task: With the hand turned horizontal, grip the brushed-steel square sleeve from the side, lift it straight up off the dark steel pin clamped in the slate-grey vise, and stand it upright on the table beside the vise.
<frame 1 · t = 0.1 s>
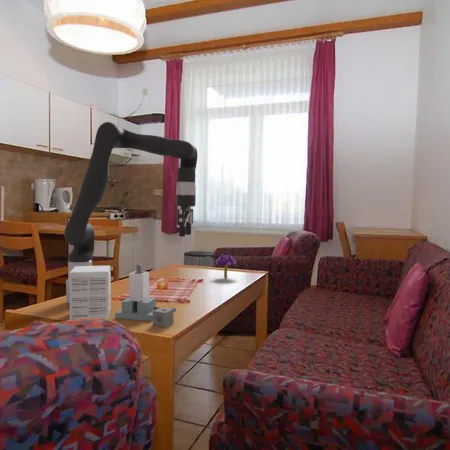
hand: (185, 235, 147), 29 cm above the table, tool pointing down, fingers open, 8 cm apart
steel sleeve: (139, 299, 139), point 6 cm above the table, touching vise
vise: (139, 315, 139), on the table
decorative mushroom: (225, 278, 211), on the table
supplement box: (91, 316, 138), on the table
dice cube: (163, 324, 130), on the table
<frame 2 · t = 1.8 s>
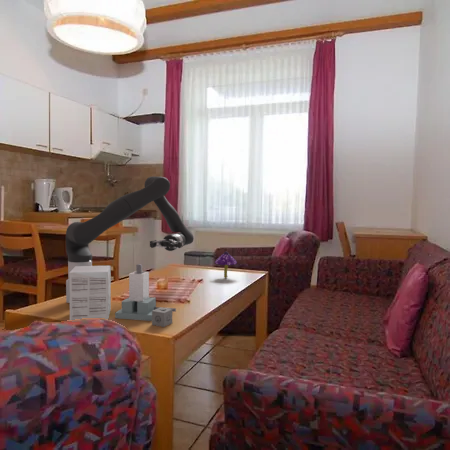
hand: (161, 245, 161), 23 cm above the table, tool horizontal, fingers open, 8 cm apart
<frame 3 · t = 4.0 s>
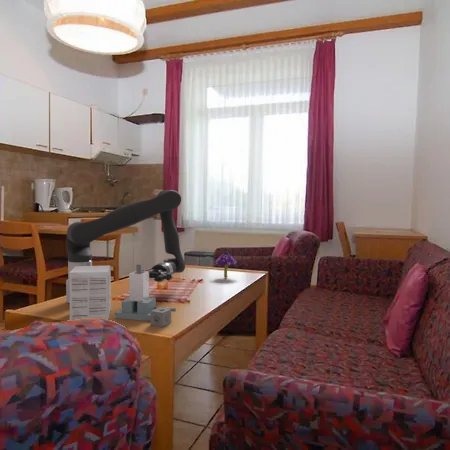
hand: (148, 278, 147), 12 cm above the table, tool horizontal, fingers open, 8 cm apart
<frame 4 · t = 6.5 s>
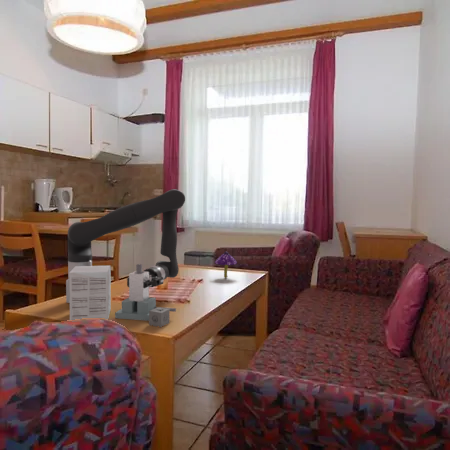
hand: (136, 284, 136), 12 cm above the table, tool horizontal, fingers closed on steel sleeve, 5 cm apart
steel sleeve: (139, 299, 139), point 6 cm above the table, touching gripper, vise
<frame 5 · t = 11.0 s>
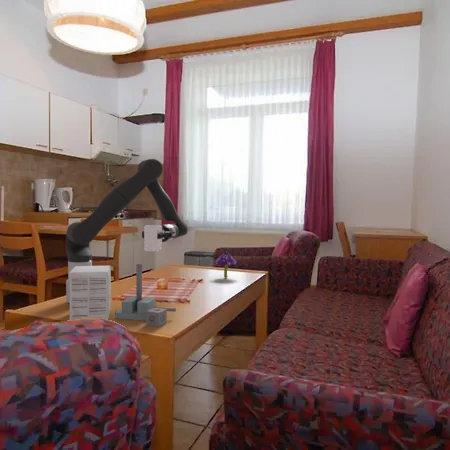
hand: (150, 236, 149), 29 cm above the table, tool horizontal, fingers closed on steel sleeve, 5 cm apart
steel sleeve: (153, 250, 151), point 23 cm above the table, touching gripper
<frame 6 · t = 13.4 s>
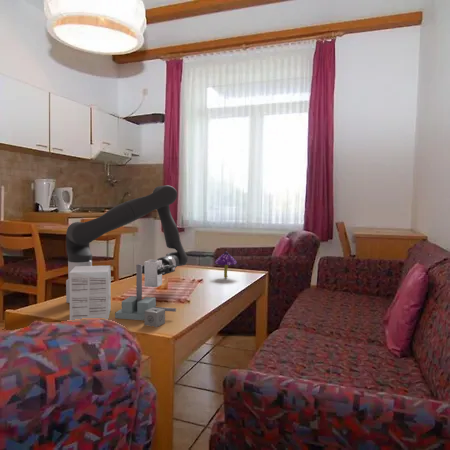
hand: (151, 271, 149), 14 cm above the table, tool horizontal, fingers closed on steel sleeve, 5 cm apart
steel sleeve: (153, 285, 152), point 8 cm above the table, touching gripper
when the fingers open (7 cm above the table, at t = 15.4 s): steel sleeve drops 1 cm, on the table.
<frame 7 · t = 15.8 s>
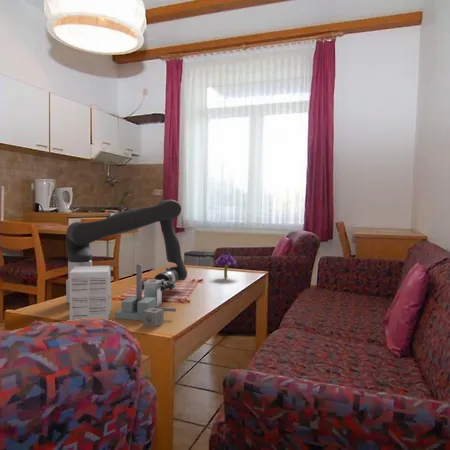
hand: (151, 288, 150), 8 cm above the table, tool horizontal, fingers open, 8 cm apart
steel sleeve: (152, 305, 153), on the table
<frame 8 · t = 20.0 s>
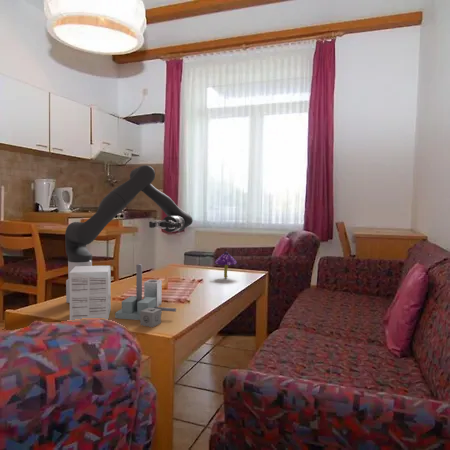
hand: (160, 225, 162), 32 cm above the table, tool horizontal, fingers open, 8 cm apart
at the end: steel sleeve inside the target area (0.0 cm from its centre), on the table; steel sleeve tilted 0°; the gripper is holding nothing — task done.
